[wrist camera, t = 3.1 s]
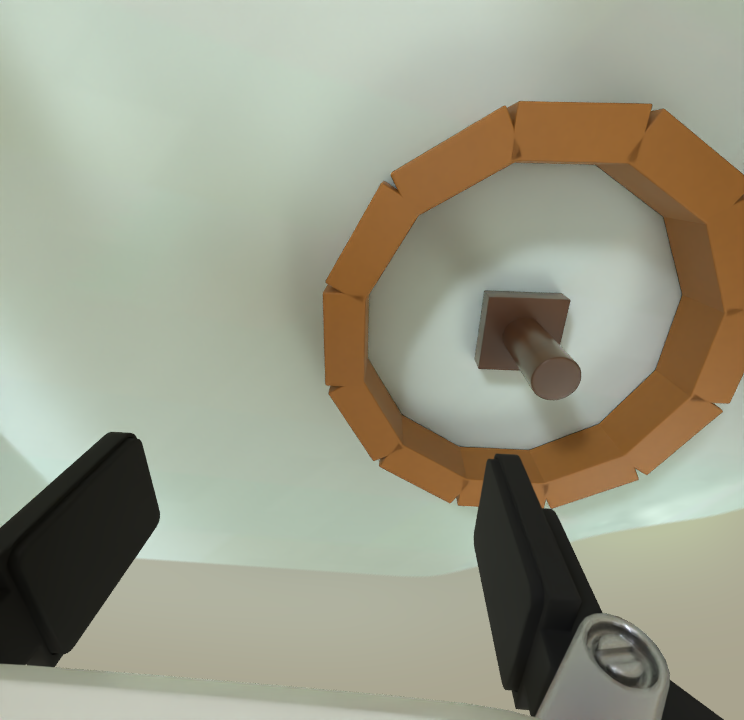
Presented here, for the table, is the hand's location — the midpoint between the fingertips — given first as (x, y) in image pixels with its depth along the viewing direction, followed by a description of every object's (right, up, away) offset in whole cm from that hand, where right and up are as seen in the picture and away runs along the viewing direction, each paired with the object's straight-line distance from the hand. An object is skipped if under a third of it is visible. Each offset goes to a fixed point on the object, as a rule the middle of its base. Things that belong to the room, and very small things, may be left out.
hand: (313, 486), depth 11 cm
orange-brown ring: (+9, +5, +11) cm, 15 cm away
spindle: (+9, +5, +11) cm, 15 cm away
